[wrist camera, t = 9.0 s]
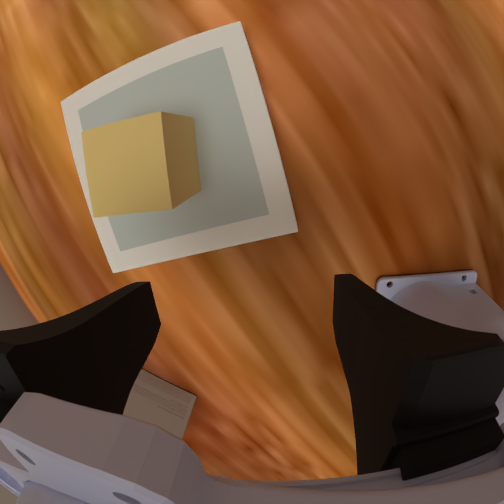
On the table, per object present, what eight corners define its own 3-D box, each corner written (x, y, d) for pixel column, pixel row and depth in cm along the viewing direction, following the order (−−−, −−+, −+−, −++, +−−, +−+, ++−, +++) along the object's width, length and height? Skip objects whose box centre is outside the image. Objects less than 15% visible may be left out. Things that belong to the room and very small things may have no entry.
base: (244, 31, 16) (240, 20, 14) (297, 223, 21) (298, 232, 19) (76, 102, 19) (60, 101, 17) (124, 263, 23) (112, 273, 21)
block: (193, 117, 17) (160, 111, 12) (201, 190, 19) (172, 209, 14) (128, 130, 18) (81, 131, 13) (136, 197, 19) (93, 218, 14)
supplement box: (133, 362, 27) (76, 458, 16) (199, 395, 28) (164, 501, 16) (121, 398, 30) (76, 480, 18) (177, 426, 31) (146, 514, 19)
